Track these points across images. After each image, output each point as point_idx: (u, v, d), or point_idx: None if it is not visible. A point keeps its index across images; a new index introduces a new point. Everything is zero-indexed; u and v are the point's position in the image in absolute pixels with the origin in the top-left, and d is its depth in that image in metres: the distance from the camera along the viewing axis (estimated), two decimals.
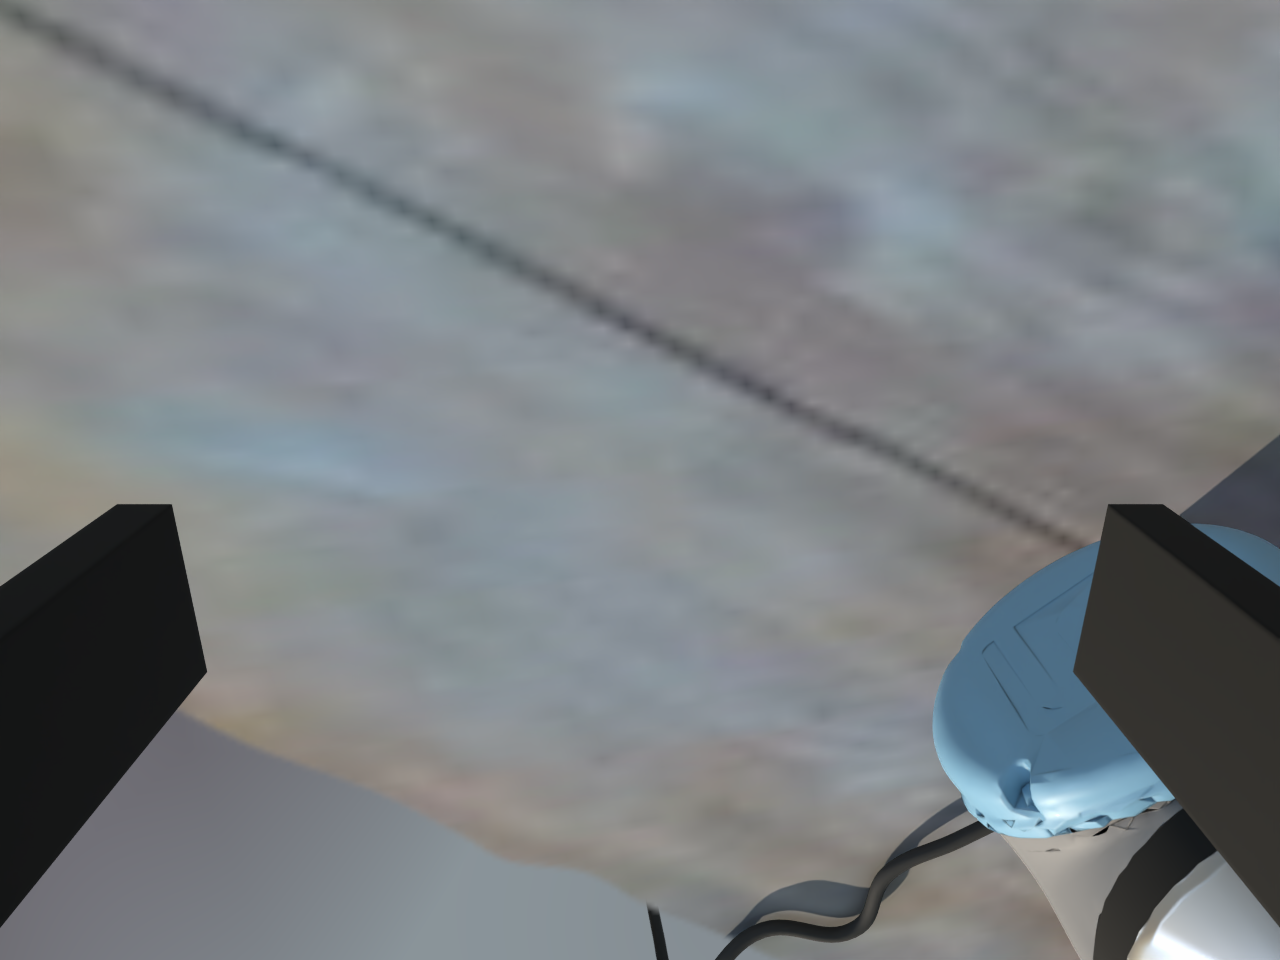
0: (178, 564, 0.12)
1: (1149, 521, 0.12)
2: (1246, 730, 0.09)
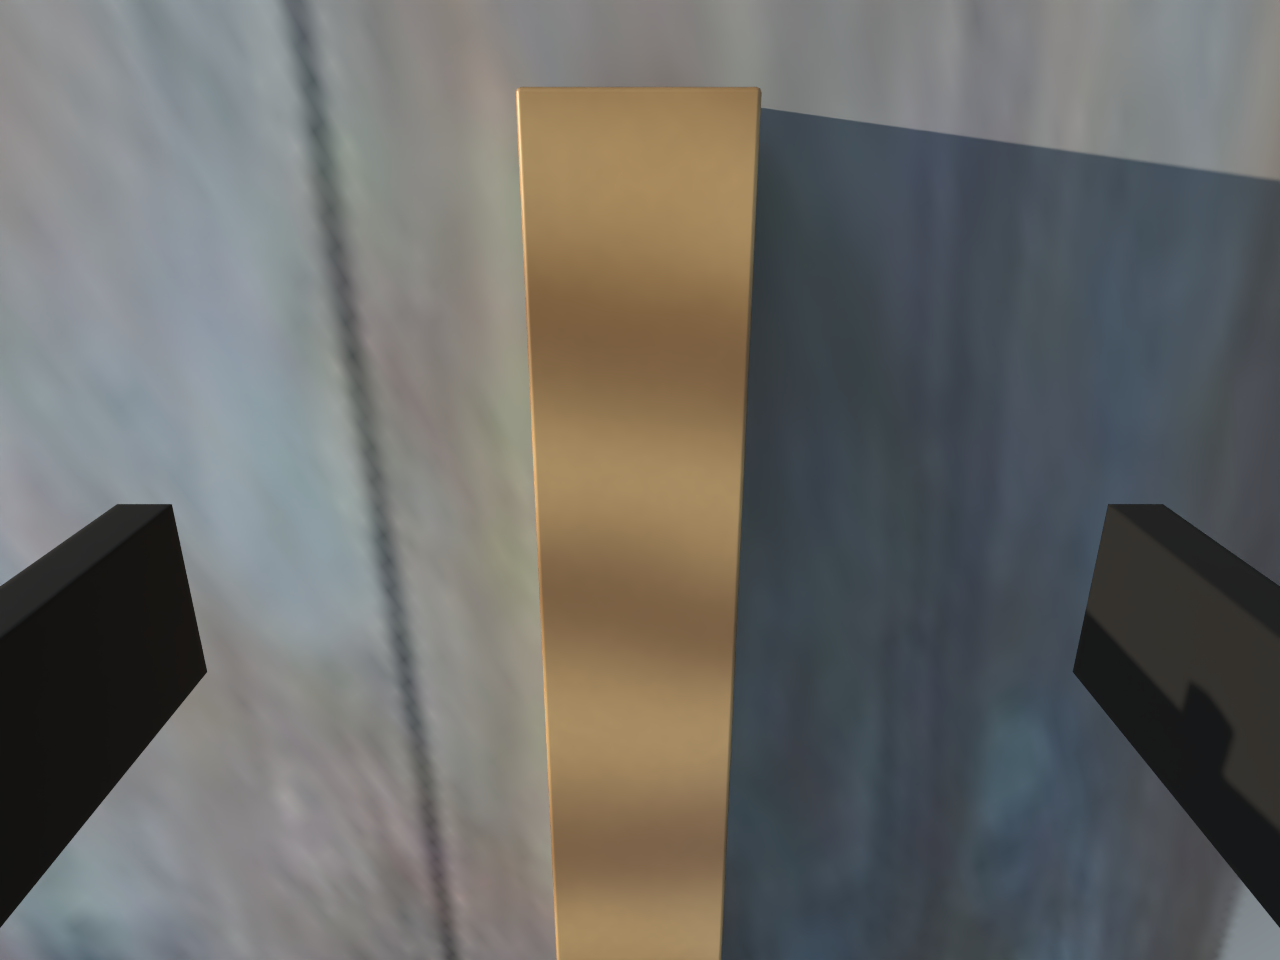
0: (178, 564, 0.12)
1: (1149, 521, 0.11)
2: (1246, 730, 0.09)
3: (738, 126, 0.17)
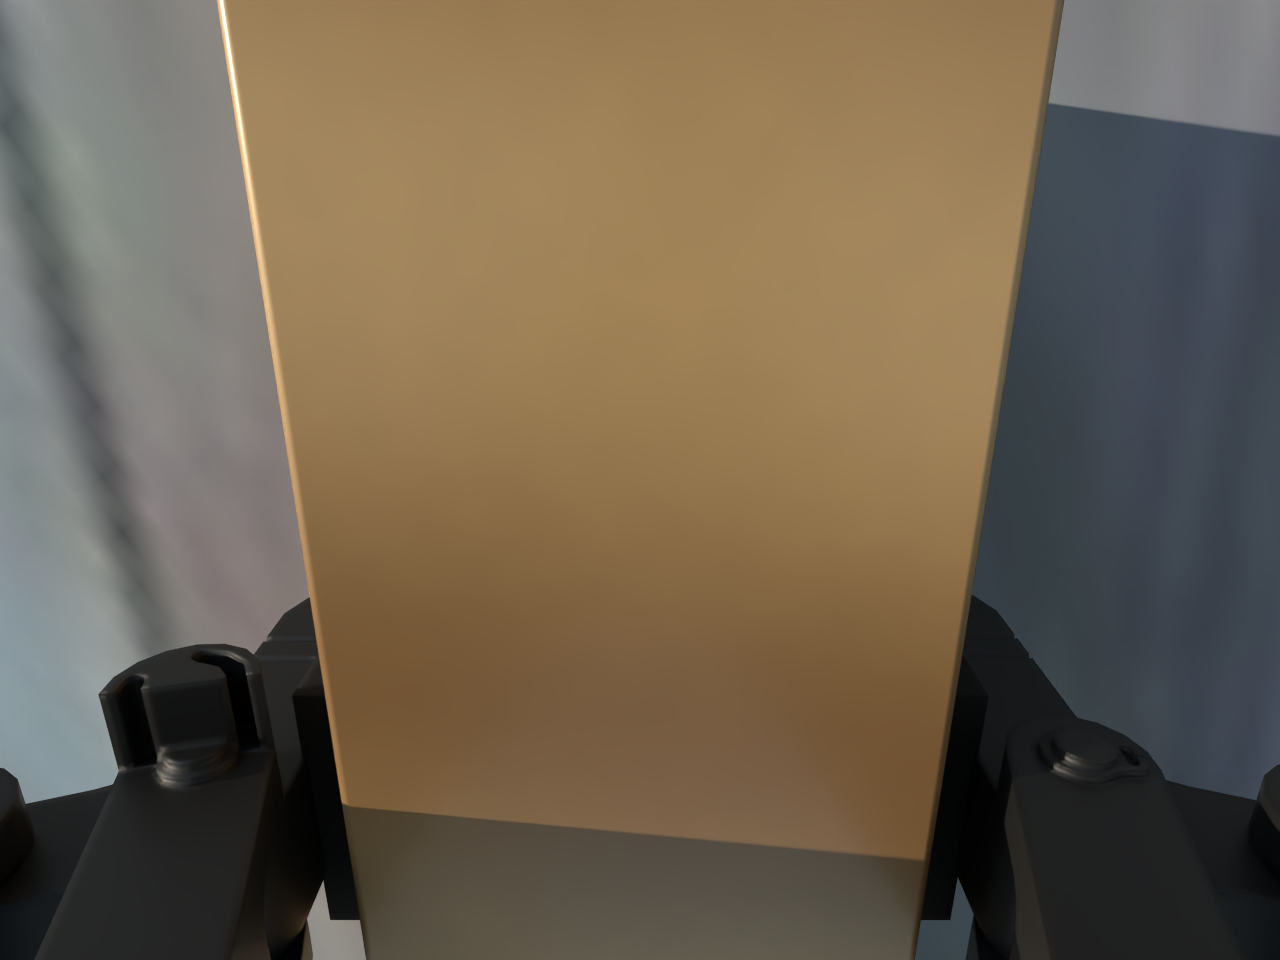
0: None
1: None
2: None
3: (980, 99, 0.05)
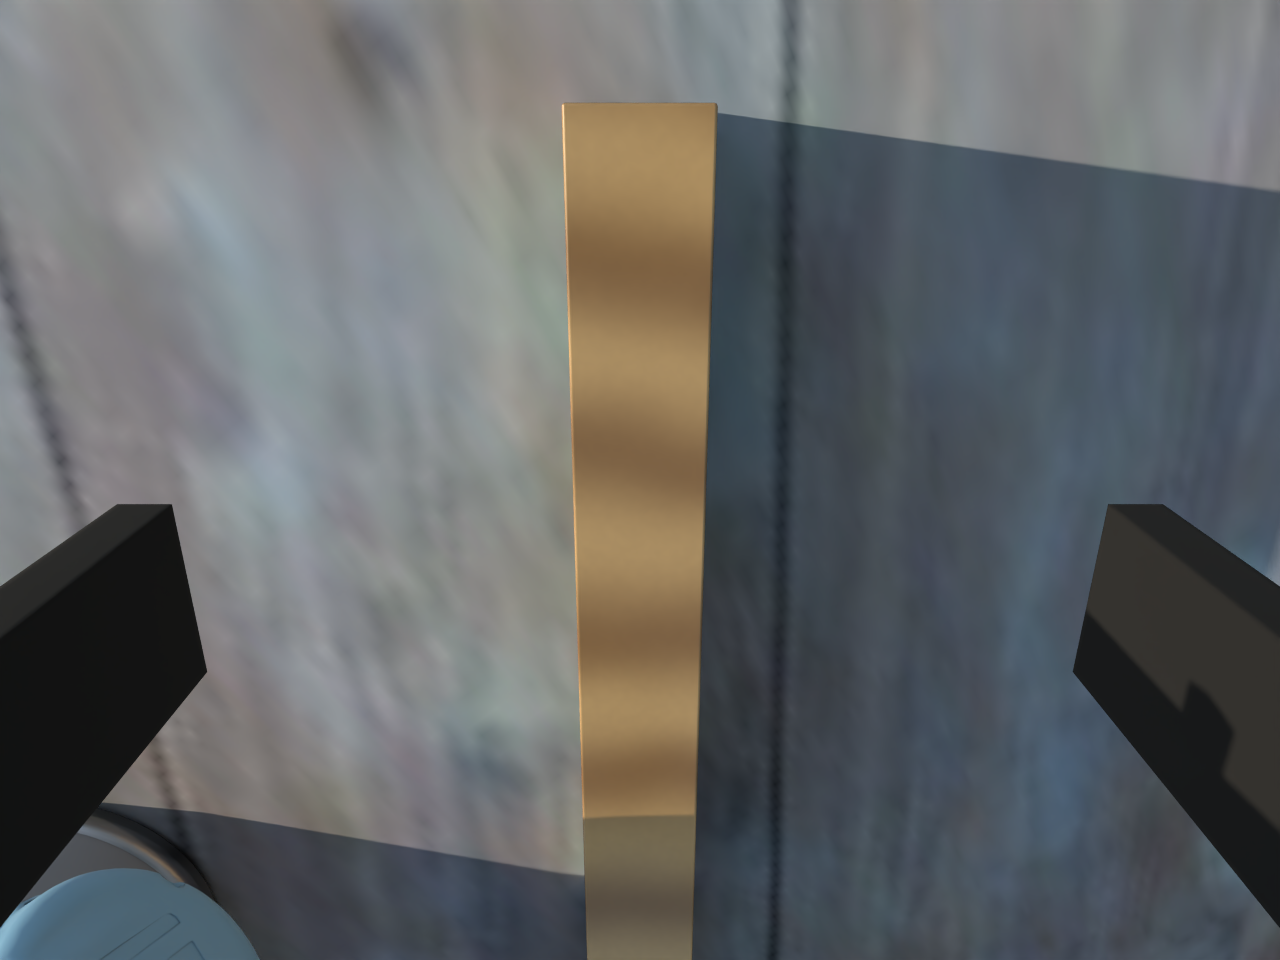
0: (178, 564, 0.12)
1: (1149, 521, 0.11)
2: (1246, 730, 0.09)
3: (703, 127, 0.27)
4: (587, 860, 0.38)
